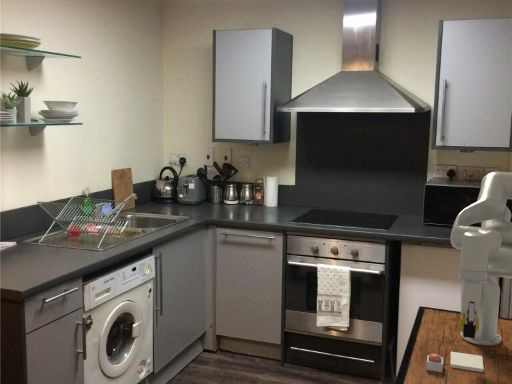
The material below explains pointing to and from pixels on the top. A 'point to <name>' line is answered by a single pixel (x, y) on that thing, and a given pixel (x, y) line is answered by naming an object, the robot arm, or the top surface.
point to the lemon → (462, 321)
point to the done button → (435, 358)
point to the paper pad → (467, 361)
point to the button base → (434, 365)
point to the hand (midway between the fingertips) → (468, 332)
